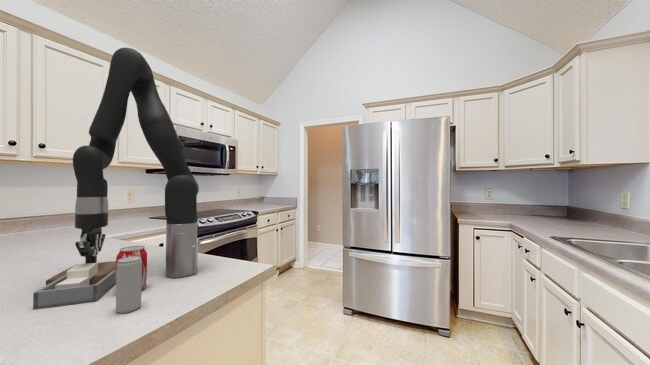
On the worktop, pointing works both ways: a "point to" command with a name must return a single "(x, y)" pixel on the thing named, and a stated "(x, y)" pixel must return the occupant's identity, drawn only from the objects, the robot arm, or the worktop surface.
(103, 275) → the walnut board
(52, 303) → the grey tray
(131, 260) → the grey cylinder
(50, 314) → the worktop surface
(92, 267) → the rear tile
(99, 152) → the robot arm
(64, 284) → the front tile
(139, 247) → the soda can
